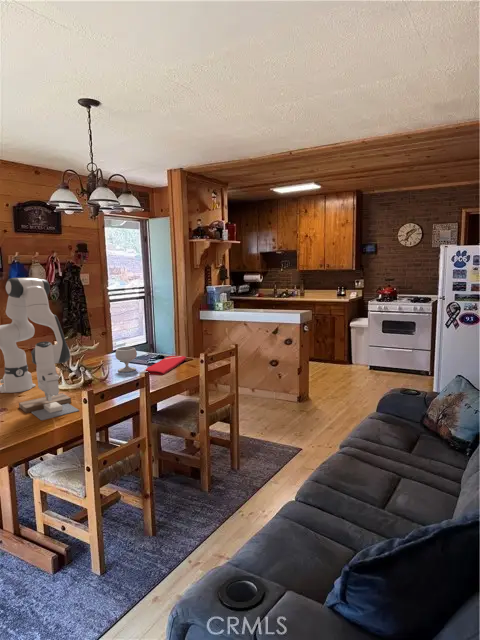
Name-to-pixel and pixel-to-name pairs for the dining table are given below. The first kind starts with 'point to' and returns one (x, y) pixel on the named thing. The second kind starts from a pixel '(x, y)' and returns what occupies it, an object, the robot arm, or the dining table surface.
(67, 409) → the mat
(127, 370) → the chalice
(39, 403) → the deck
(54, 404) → the tile
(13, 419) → the dining table surface
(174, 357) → the dish drying mat
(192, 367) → the dining table surface
